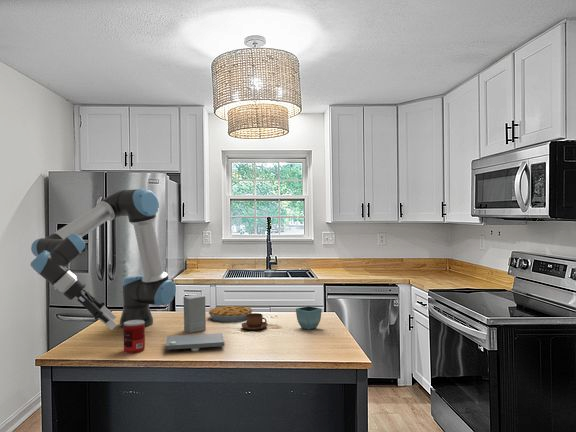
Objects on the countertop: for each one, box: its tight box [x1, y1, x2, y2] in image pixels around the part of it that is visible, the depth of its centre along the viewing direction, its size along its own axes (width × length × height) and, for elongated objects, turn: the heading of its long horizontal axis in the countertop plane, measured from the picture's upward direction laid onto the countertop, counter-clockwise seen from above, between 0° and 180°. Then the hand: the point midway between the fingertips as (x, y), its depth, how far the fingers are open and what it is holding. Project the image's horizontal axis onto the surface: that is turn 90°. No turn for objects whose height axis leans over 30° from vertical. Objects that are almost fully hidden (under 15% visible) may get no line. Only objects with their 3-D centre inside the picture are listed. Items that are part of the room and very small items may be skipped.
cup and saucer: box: [240, 312, 269, 331], centre depth 216 cm, size 12×12×6 cm
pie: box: [208, 305, 253, 323], centre depth 238 cm, size 22×22×5 cm
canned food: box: [122, 320, 146, 354], centre depth 182 cm, size 8×8×11 cm
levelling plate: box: [165, 332, 226, 352], centre depth 186 cm, size 14×22×3 cm, turn 102°
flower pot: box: [295, 305, 323, 331], centre depth 215 cm, size 9×9×9 cm
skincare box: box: [183, 293, 207, 334], centre depth 212 cm, size 8×7×16 cm
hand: (114, 323), depth 178 cm, fingers open, 13 cm apart
